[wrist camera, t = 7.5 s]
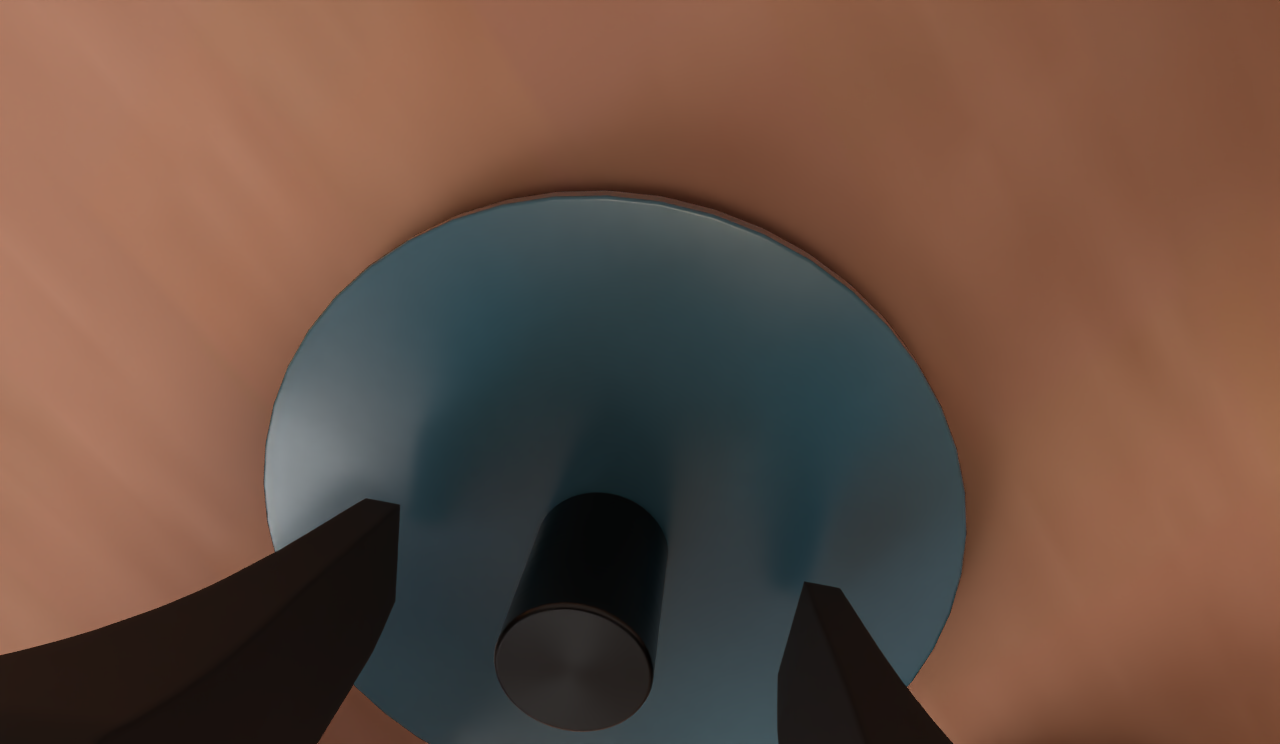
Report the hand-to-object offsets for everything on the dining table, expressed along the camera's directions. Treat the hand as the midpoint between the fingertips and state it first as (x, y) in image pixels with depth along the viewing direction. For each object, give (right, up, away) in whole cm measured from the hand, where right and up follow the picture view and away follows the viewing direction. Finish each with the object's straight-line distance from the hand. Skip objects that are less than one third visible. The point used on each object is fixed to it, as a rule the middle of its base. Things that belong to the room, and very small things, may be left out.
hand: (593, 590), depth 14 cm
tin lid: (0, +1, +2) cm, 2 cm away
